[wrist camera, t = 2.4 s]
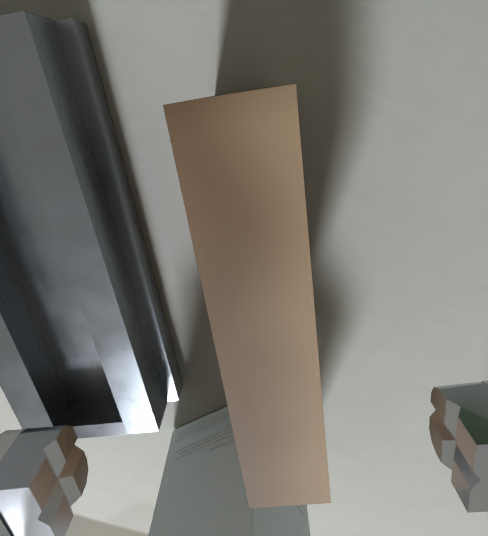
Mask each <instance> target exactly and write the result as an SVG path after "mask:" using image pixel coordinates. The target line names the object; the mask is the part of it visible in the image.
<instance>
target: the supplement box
mask: <svg viewBox="0 0 488 536" xmlns="http://www.w3.org/2000/svg"><path fill="white" fill-rule="evenodd" d="M149 536H310V529H309V521H308V513H307V505H291V506H276V507H261V508H249V504H248V499H247V494H246V490H245V485H244V480H243V476H242V471H241V466H240V462H239V457H238V452H237V448H236V443H235V438H234V434H233V429H232V424H231V420H230V415H229V410H228V406H227V407H224V408H222V409H220V410H218V411H215V412H213V413H210V414H208V415H206V416H204V417H202V418H199V419H197V420H195V421H193V422H190V423H188V424H185V425H184V426H181V427H179V428H177V429H176V430H174V431H173V434H172V438H171V442H170V446H169V451H168V455H167V459H166V463H165V467H164V472H163V476H162V480H161V485H160V489H159V493H158V497H157V502H156V506H155V510H154V514H153V519H152V523H151V527H150V531H149Z"/></svg>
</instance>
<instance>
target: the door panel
mask: <svg viewBox="0 0 488 536" xmlns="http://www.w3.org/2000/svg"><path fill="white" fill-rule="evenodd" d="M163 107H164V112H165V116H166V121H167V126H168V130H169V135H170V140H171V144H172V149H173V154H174V158H175V163H176V168H177V172H178V177H179V182H180V186H181V191H182V196H183V200H184V205H185V210H186V214H187V219H188V224H189V228H190V233H191V238H192V242H193V247H194V252H195V256H196V261H197V266H198V270H199V275H200V280H201V284H202V289H203V294H204V298H205V303H206V308H207V312H208V317H209V322H210V326H211V331H212V336H213V340H214V345H215V350H216V354H217V359H218V364H219V368H220V373H221V378H222V382H223V387H224V392H225V396H226V401H227V406H228V410H229V415H230V420H231V424H232V429H233V434H234V438H235V443H236V448H237V452H238V457H239V462H240V466H241V471H242V476H243V480H244V485H245V490H246V494H247V499H248V504H249V508H261V507H276V506H291V505H306V504H321V503H331V499H330V487H329V475H328V463H327V451H326V439H325V427H324V415H323V403H322V391H321V379H320V367H319V355H318V343H317V331H316V319H315V307H314V295H313V283H312V271H311V259H310V247H309V235H308V223H307V211H306V199H305V187H304V175H303V163H302V151H301V139H300V127H299V115H298V103H297V91H296V84H290V85H281V86H273V87H267V88H260V89H254V90H248V91H242V92H235V93H229V94H223V95H217V96H211V97H206V98H200V99H194V100H189V101H183V102H178V103H172V104H167V105H163Z"/></svg>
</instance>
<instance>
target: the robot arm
mask: <svg viewBox="0 0 488 536" xmlns="http://www.w3.org/2000/svg"><path fill="white" fill-rule="evenodd" d="M431 403H432V404H433V406H434V408H435V409H436V410H435V412H434V413H433V414H432V415H431V416H430V424H429V429H430V435H431V440H432V443H433V446H434V449H435V451H436V453H437V455H438V457H439V459H440V461H441V463H443V464H444V465H446V466H447V467H448V468H450V469H451V470H452V478H451V482H452V484H453V486H454V488H455V490H456V491H457V493H458V495H459V497H460V499H461V501H462V503H463V504H464V506H465V508H466V510H467V512H485V511H488V381H482V382H474V383H465V384H457V385H448V386H439V387H434V388H433V390H432V393H431ZM77 438H78V437H77V435H76V433H75V431H74V428H73V427H72V426H67V425H65V426H53V427H40V428H27V429H21V430H7V431H4V432H3V433H1V434H0V536H65V534H66V532H67V529H68V527H69V524H70V522H71V520H72V517H73V512H72V509H71V505H72V504H73V503H74V502H75V501H76V500H77V499H78V498H79V497H81V496H82V493H83V490H84V488H85V485H86V481H87V474H88V464H87V458H86V456H85V453H84V451H83V450H81V449H80V448H78V447H77V446H75V445H74V444H75V442H76V440H77Z"/></svg>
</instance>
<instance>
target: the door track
mask: <svg viewBox="0 0 488 536" xmlns="http://www.w3.org/2000/svg"><path fill="white" fill-rule="evenodd" d="M0 386H1V388H2V390H3V392H4V394H5V396H6V398H7V400H8V402H9V403H10V405H11V407H12V409H13V411H14V413H15V415H16V417H17V419H18V421H19V423H20V425H21V427H22V429H27V428H40V427H53V426H65V425H67V426H72V427H73V428H74V431H75V433H76V435H77V437H78V438H88V437H100V436H112V435H123V434H135V433H147V432H159V429H160V425H161V422H162V418H163V415H164V411H165V408H166V405H167V402H170V401H179V398H180V394H181V390H182V386H183V384H182V380H181V377H180V373H179V369H178V365H177V362H176V358H175V354H174V351H173V347H172V343H171V339H170V336H169V332H168V328H167V324H166V321H165V317H164V313H163V309H162V306H161V302H160V298H159V295H158V291H157V287H156V283H155V280H154V276H153V272H152V268H151V265H150V261H149V257H148V254H147V250H146V246H145V242H144V239H143V235H142V231H141V227H140V224H139V220H138V216H137V213H136V209H135V205H134V201H133V198H132V194H131V190H130V186H129V183H128V179H127V175H126V172H125V168H124V164H123V160H122V157H121V153H120V149H119V145H118V142H117V138H116V134H115V131H114V127H113V123H112V119H111V116H110V112H109V108H108V104H107V101H106V97H105V93H104V90H103V86H102V82H101V78H100V75H99V71H98V67H97V63H96V60H95V56H94V52H93V49H92V45H91V41H90V37H89V34H88V30H87V26H86V23H85V22H82V21H80V20H77V19H74V18H67V19H62V20H56V21H54V20H51V19H48V18H45V17H42V16H39V15H36V14H33V13H30V12H27V11H19V12H14V13H9V14H3V15H0Z"/></svg>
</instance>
